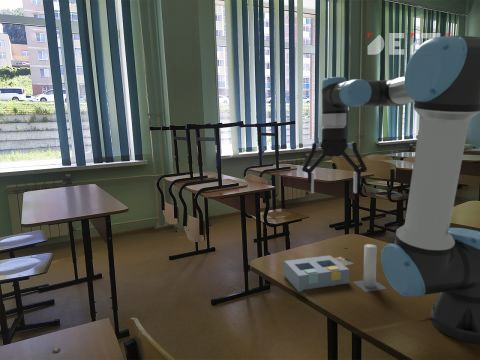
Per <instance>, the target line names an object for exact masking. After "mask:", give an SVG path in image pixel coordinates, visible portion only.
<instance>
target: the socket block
mask: <svg viewBox="0 0 480 360" xmlns="http://www.w3.org/2000/svg"><path fill="white" fill-rule="evenodd" d="M334 258H335V257H334V256H332V255H321V256H314V257H305V258H304V257H303V258H297V259H290V260H289V259H288V260H284V261H283V264H284V265H283V267H284V268H283V275H284V277H285V278H286V279H287V280H288V282H289V283H290V284H291V285H292V286H293V287H294V288H295V289H296V291H298V293H303V292H304V291H306V290H311V289H318V288H319V289H320V288H324V287H325V288H326V287H331V286H338V285H346V284H350V269H349V268H348V267H347V266H344V265H343V264H341V263H340V262H339V261H337V260H336V259H334Z"/></svg>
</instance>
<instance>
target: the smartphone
mask: <svg viewBox="0 0 480 360" xmlns="http://www.w3.org/2000/svg"><path fill="white" fill-rule="evenodd" d="M333 258H334V259H336V260H337V261H339V262H340V263H341V264H343V265H344V266H345V267H347V266H354V265H355V263H354V262H352V261H351V260H349V259H348V258H345V257H343V256H342V255H341V256H337V257H333Z"/></svg>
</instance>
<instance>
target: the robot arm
mask: <svg viewBox="0 0 480 360" xmlns="http://www.w3.org/2000/svg"><path fill="white" fill-rule="evenodd" d="M321 87H322V88H321V126H322V127H323V128H322V129H321V143H316V142H313V143H312V145H311V150H310V152H309V154H308V156H307V158H306V160H305V162H304V163H303V166H302V169H301V170H302V172H305V173H306V174H307V184H310V192H311V194H314V193H315V173H314V170H315V169H316V168H317V167H318V165H320V163H321V162H322V161H323V160H324V159H325V158H326V157H330V158H332V157H341V156H342V157H343V158H344V159H345V160H346V162H347V163H349V165H350V166H351V167H352V168H353V169H354V170H355V171H354V172H353V182H352V183H353V186H352V189H353V191H352V192H353V193H354V194H357V193H358V184H360V183H361V179H362V178H361V177H362V176H361V175H362V173H363V172H366V171H367V169H368V168H367V166H366V165H365V162H364V160H363V159H362V156H361V154H360V153H359V150H358V148H357V147H358V146H357V143H356V141H352V142H347V128H346V126H347V108H361V107H365V108H367V107H369V108H370V107H400V106H401V107H402V106H405V105H407V104H411V103H413V110H414V111H415V112H416V113H417V114H418V116H419V117H420V118H419V119H420V120H419V125H418V131H417V137H416V139H417V140H416V143H415V145H416V147H415V153H414V159H413V164H412V165H413V166H412V172H411V179H410V186H409V193H408V200H407V205H406V207H407V208H406V213H405V221H404V224H403V225H401V226H400V227H397V229H396V231H395V239H394V242H393V243H392V242H390V243H388V244H386V245H385V246H384V247H383V248H382V250H381V255H380V260H381V261H380V262H381V267H382V270H383V274H384V275H385V278H386V279H387V282H388V283H389V285H390V286H391V288H393V290H394V291H396V292H397V293H398V294H399V295H402V296H404V297H422V296H425V295H432V294H438V295H437V297H436V300H435V302H434V304H433V306H432V308H431V312H430V313H431V315H430V321H431V323H432V325H433V326H434V327H435V328H436V329H437V330H439V332H442V334H445V335H447V336H449V337H451V338H454V339H456V340H458V341H463V342H466V343H470V344H477V345H480V231H479V230H475V229H474V230H473V229H468V228H463V227H462V228H461V227H451V221H452V217H453V216H452V215H453V211H454V205H455V201H456V200H455V199H456V194H457V189H458V185H459V184H458V183H459V179H460V172H461V167H462V162H463V156H464V152H465V151H464V150H465V147H466V146H465V145H466V140H467V135H468V129H469V124H470V121H471V120H472V118H474V117H476V116H477V115H478V114H480V36H472V35H471V36H469V35H453V34H452V35H447V36H446V35H445V36H435V37H432V38H429V39H426V40H425V41H424V42H423V43H421V44H420V45H419V46H418V48H417V49H416V50H414V52H413V53H412V55H411V56H410V59H409V60H408V63H407V65H406V68H405V72H404V75H403V76H399V77H396V78H392V79H388V80H387V79H386V80H385V79H383V80H364V79H362V78H355V79H354V78H353V79H349V80H347V78H346V77H344V76H331V77H326V78H325V77H324V79H323V80H322V85H321ZM319 148H320V149H321V150H322V152H321V154H320V155H319V156H318V158H317V159H316V160H315V161H314V162H313V163H312V164H311V166H309V165H310V163H311V161H312V159H313V157H314V155H315V153H316V151H318V150H319ZM347 148H349V149H350V150H352V153H353V155H354V156H355V158H356V161H357V162H358V164H359V166H360V167H358V165H357V164H356V163H355V162H354V161H353V160H352V158H351V157H350V156H349V155H348V154H347V153H346V151H345V150H347Z"/></svg>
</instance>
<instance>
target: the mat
mask: <svg viewBox="0 0 480 360" xmlns="http://www.w3.org/2000/svg"><path fill="white" fill-rule="evenodd" d="M352 283H353V284H354V285H355V286H356V287H358V288H360V289H361V290H362V291H363V292H365V293H369V292H374V291H382V290H387V289H388V288H387V287H385V286H384V285H383V284H381V283H380V282H378V281H377V280H376V284H375V287H373V288H369V287H365V286H364V285H363V279H362V280H357V281H354V280H353V281H352Z"/></svg>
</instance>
